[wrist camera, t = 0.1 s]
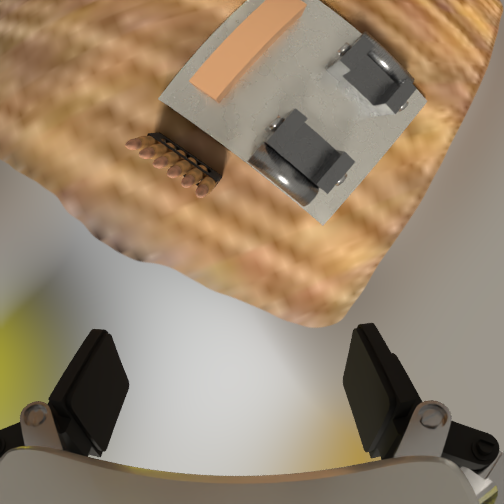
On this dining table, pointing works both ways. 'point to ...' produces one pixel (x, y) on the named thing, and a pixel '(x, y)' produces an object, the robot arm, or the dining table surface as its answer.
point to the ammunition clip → (176, 162)
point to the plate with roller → (306, 106)
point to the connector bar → (245, 46)
